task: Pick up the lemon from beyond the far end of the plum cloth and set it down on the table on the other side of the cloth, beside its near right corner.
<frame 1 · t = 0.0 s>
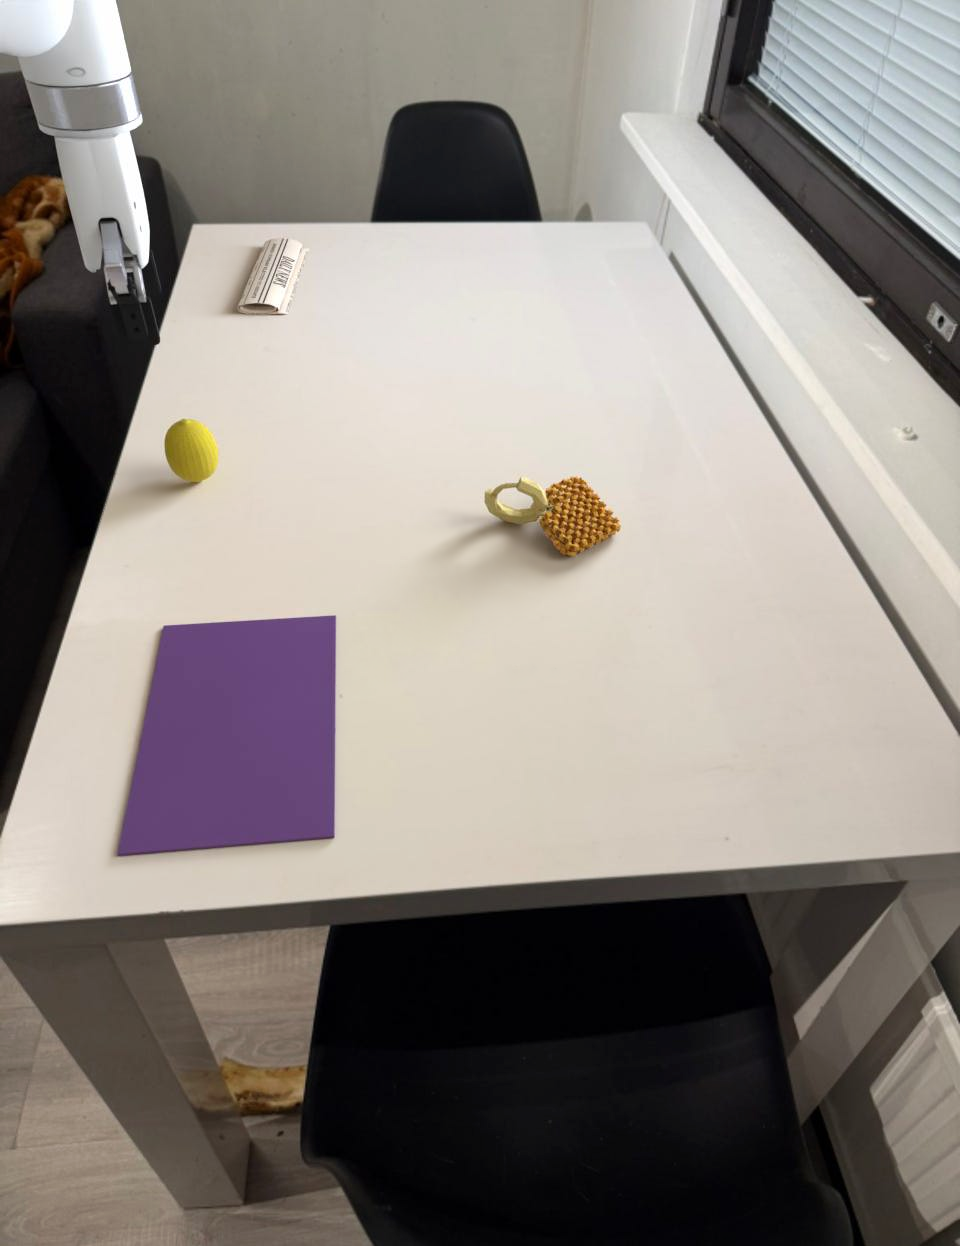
hand: (143, 318, 77), 22 cm above the table, tool pointing down, fingers open, 9 cm apart
cloth: (240, 722, 74), on the table
newspaper: (276, 281, 135), on the table
lemon: (199, 483, 98), on the table
ornament: (551, 528, 93), on the table
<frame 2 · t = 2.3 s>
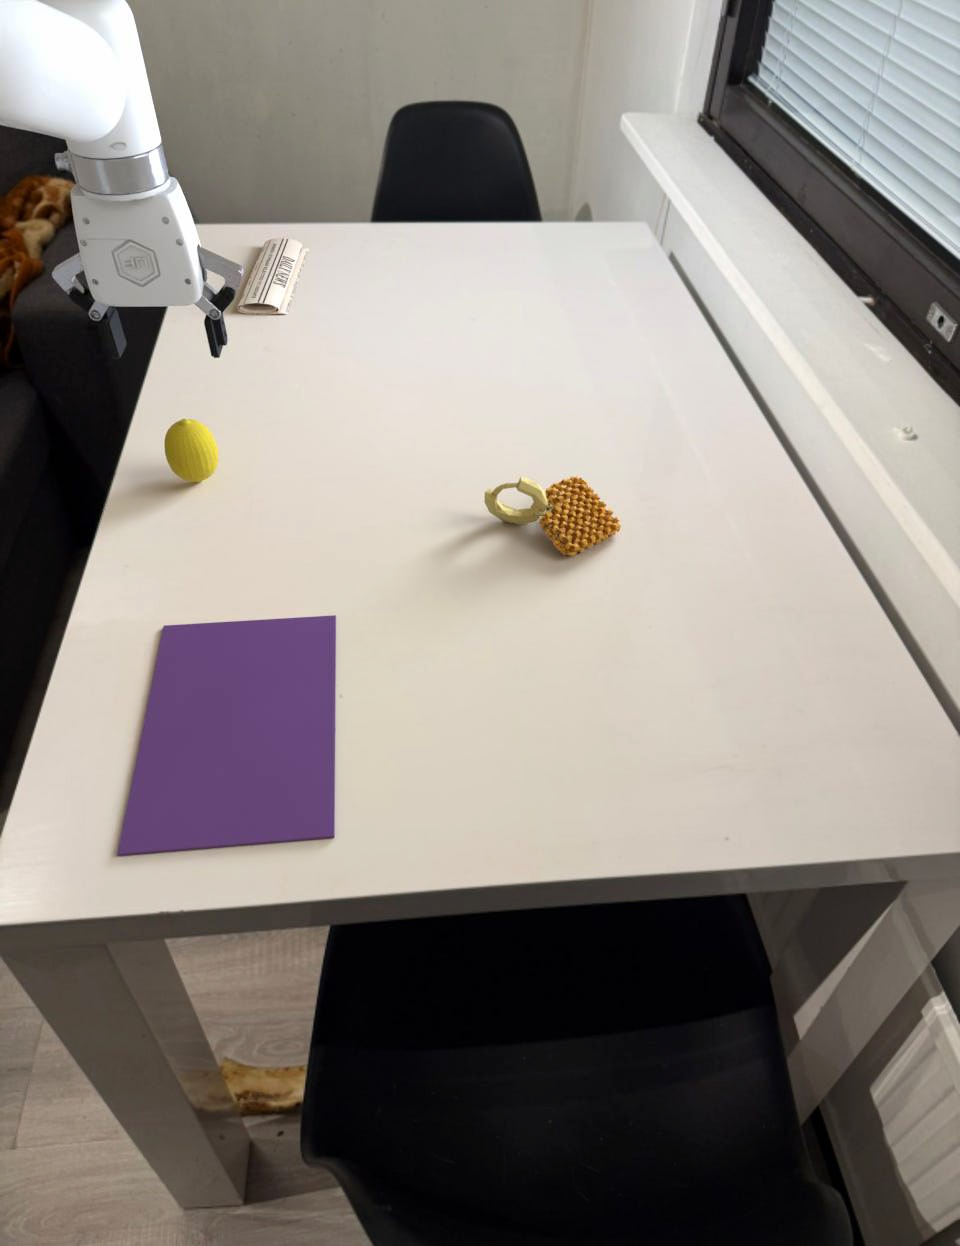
hand: (169, 351, 86), 16 cm above the table, tool pointing down, fingers open, 9 cm apart
nothing on the table moved.
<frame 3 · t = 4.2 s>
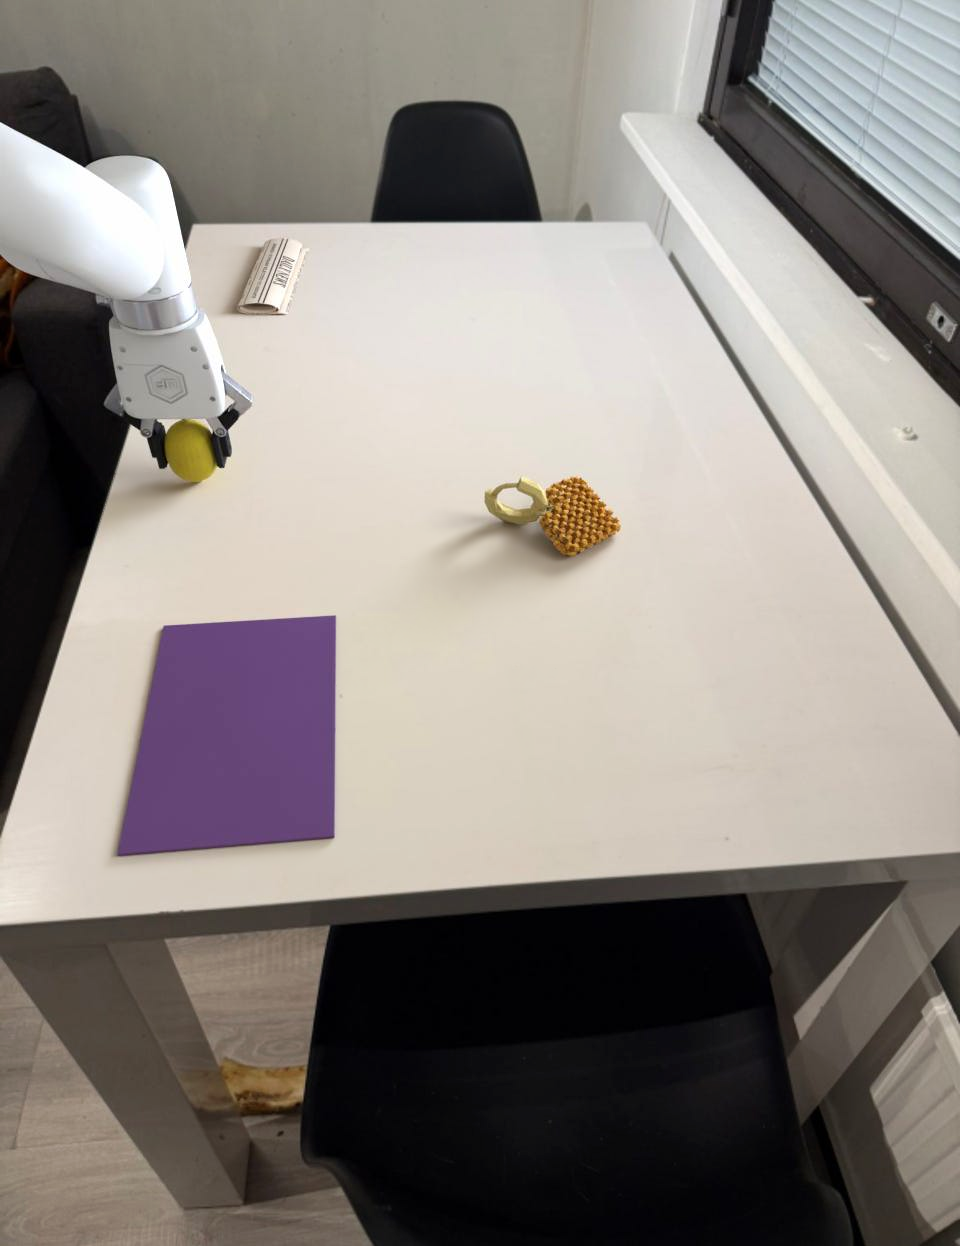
hand: (194, 459, 95), 3 cm above the table, tool pointing down, fingers closed on lemon, 5 cm apart
lemon: (199, 483, 98), on the table, touching gripper
everything else where it was.
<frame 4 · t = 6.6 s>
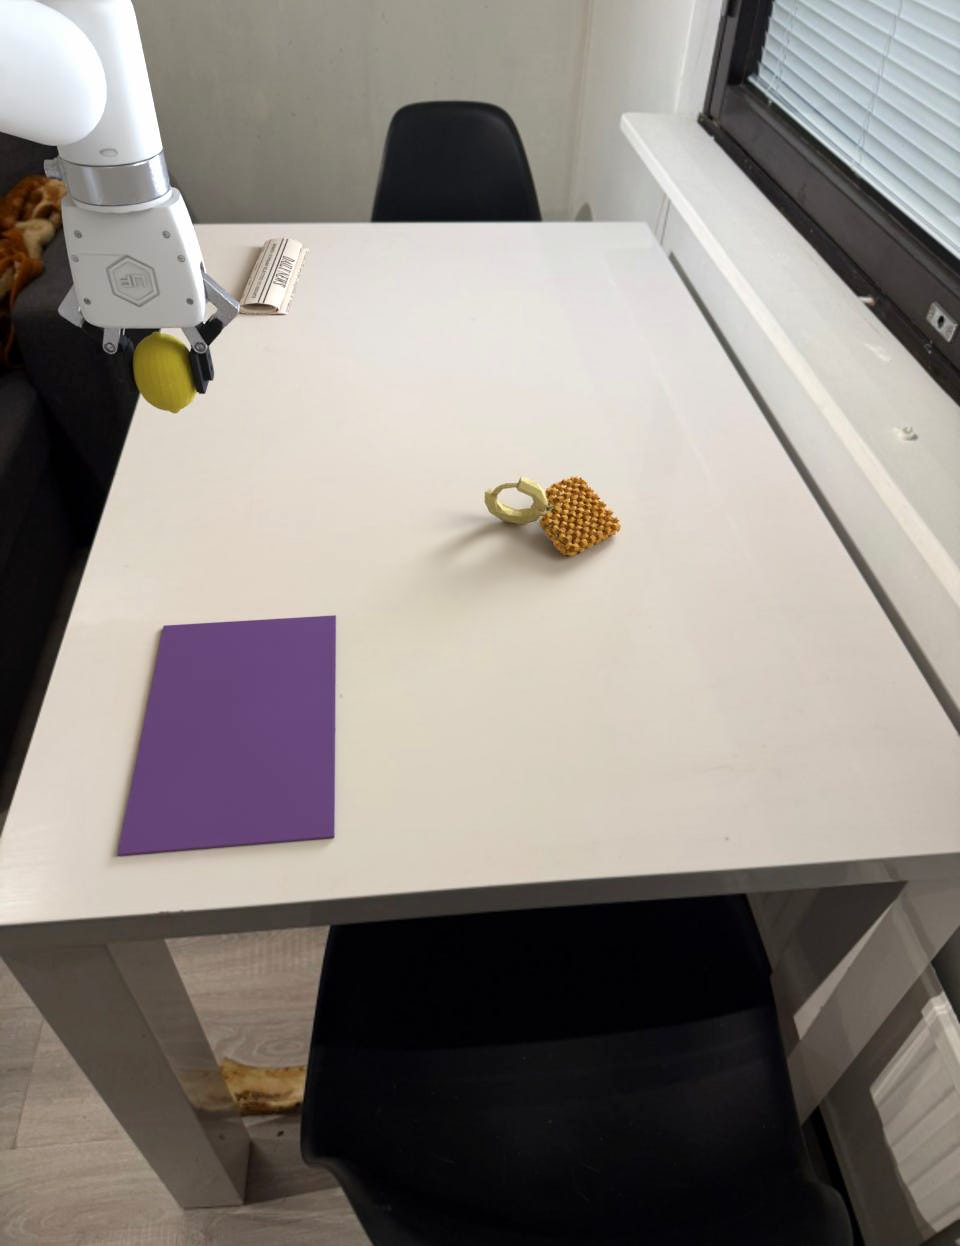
hand: (168, 385, 80), 17 cm above the table, tool pointing down, fingers closed on lemon, 5 cm apart
lemon: (176, 414, 82), point 14 cm above the table, touching gripper
everything else where it was.
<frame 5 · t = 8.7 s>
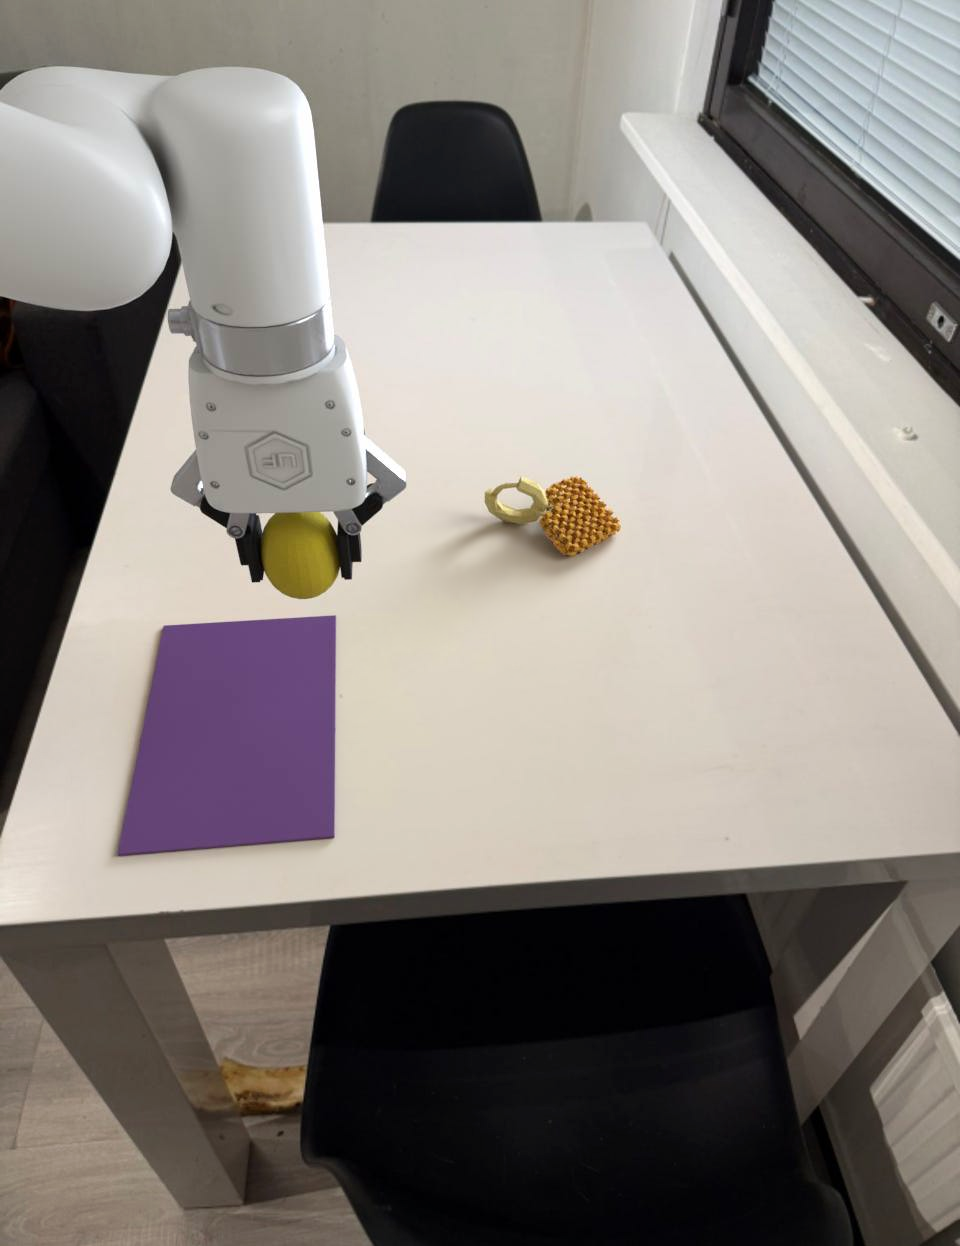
hand: (303, 566, 62), 18 cm above the table, tool pointing down, fingers closed on lemon, 5 cm apart
lemon: (308, 597, 64), point 14 cm above the table, touching gripper
everything else where it was.
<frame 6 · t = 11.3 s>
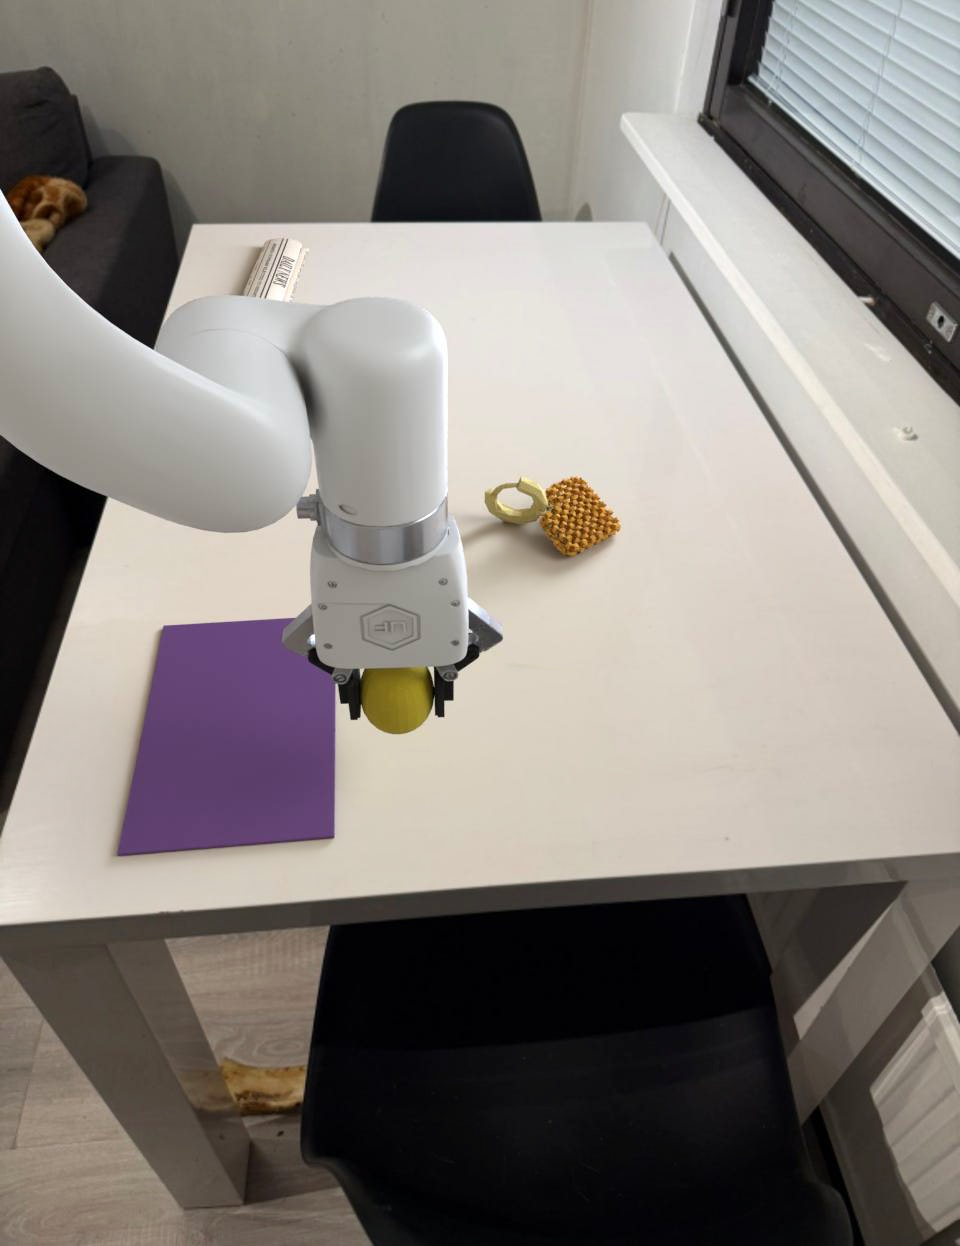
hand: (397, 702, 65), 8 cm above the table, tool pointing down, fingers closed on lemon, 5 cm apart
lemon: (399, 727, 67), point 5 cm above the table, touching gripper
everything else where it was.
when the fingers open (3 cm above the table, at t = 13.2 s): lemon stays where it is, on the table.
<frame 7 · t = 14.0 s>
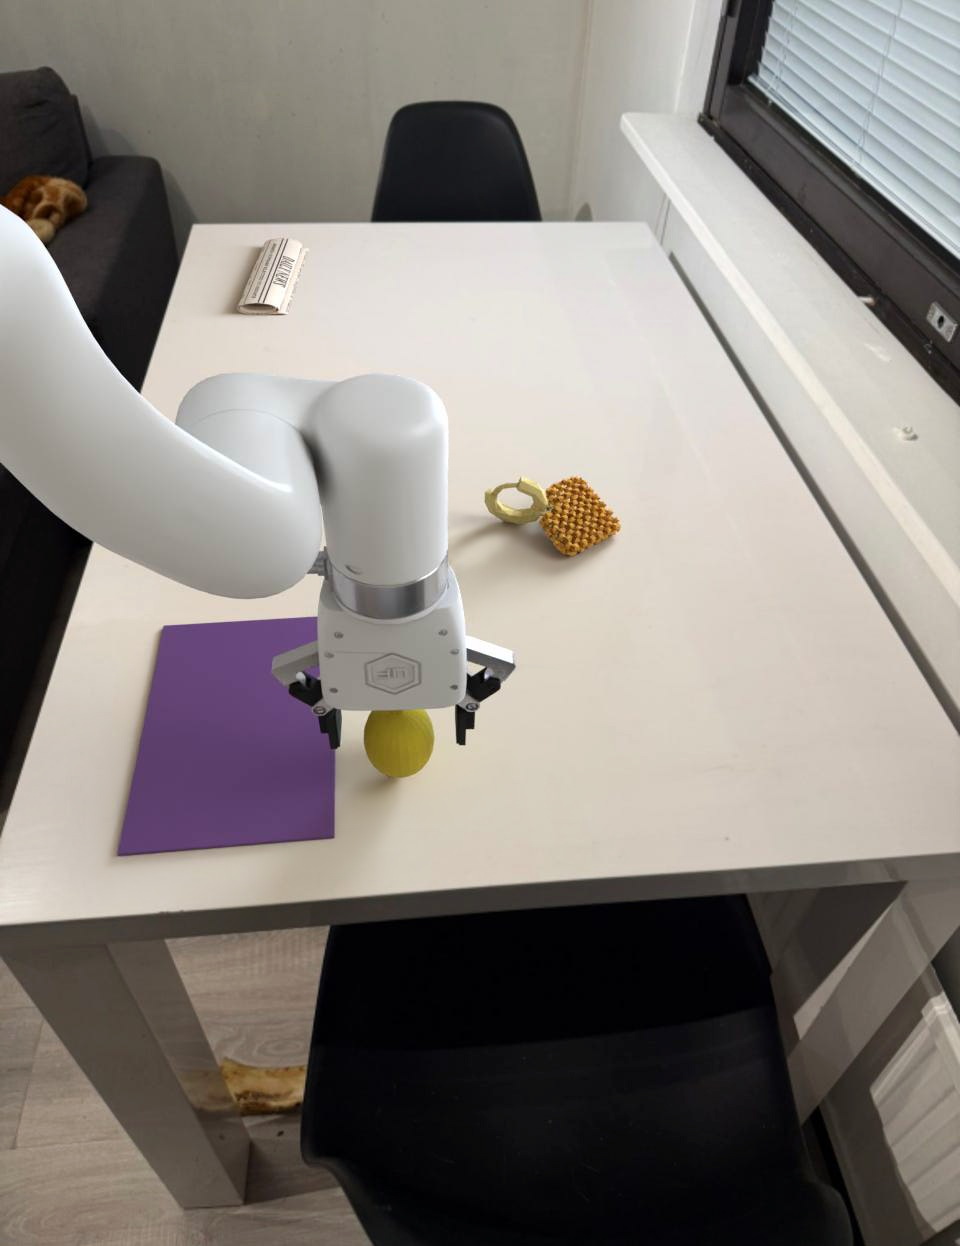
hand: (398, 732, 67), 5 cm above the table, tool pointing down, fingers open, 9 cm apart
lemon: (401, 769, 71), on the table
everything else where it was.
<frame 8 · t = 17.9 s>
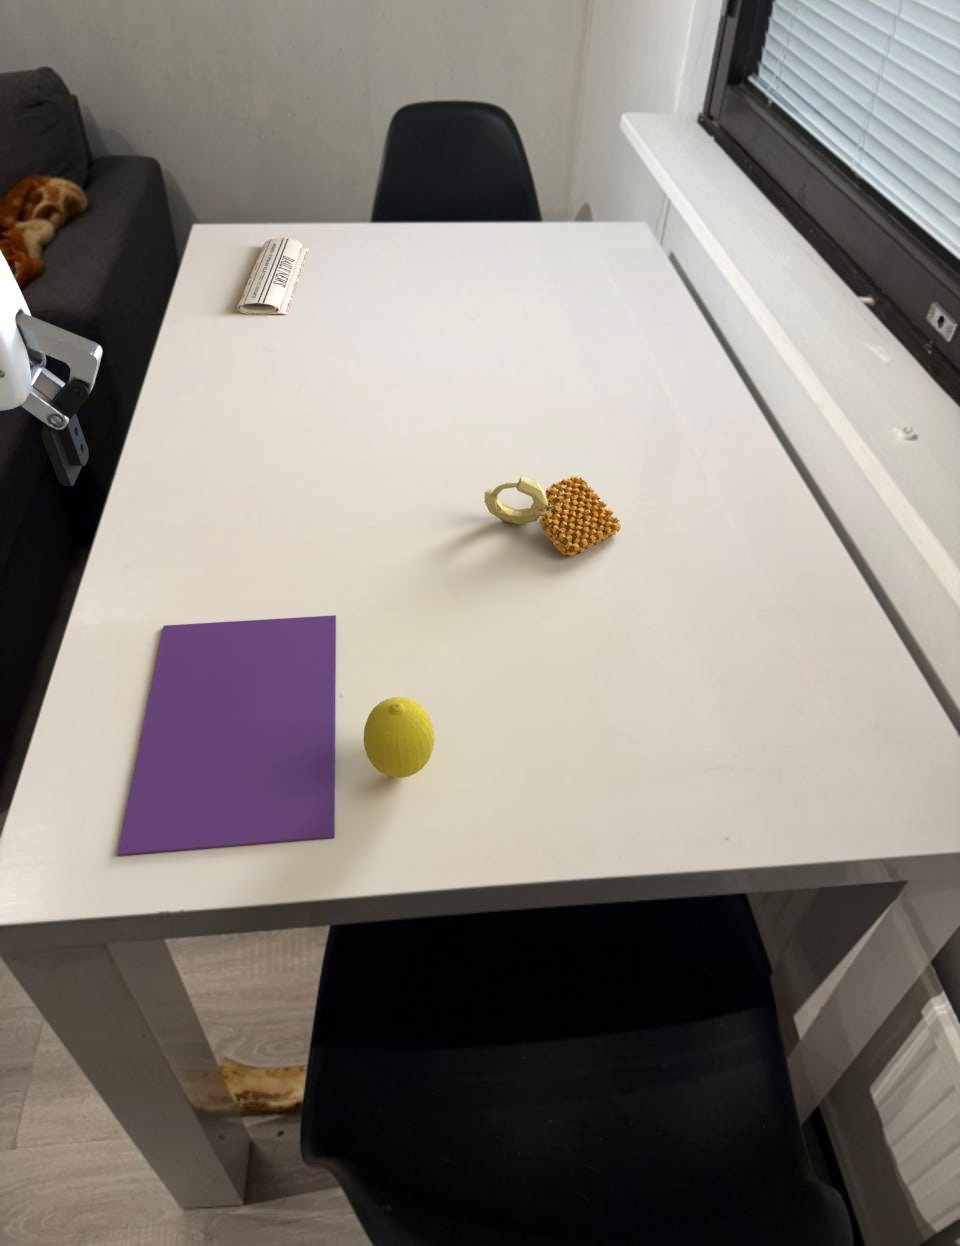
nothing on the table moved.
at the end: lemon 0.1 cm from the target spot on the table beside the cloth, on the table; lemon touching table; the gripper is holding nothing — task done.
